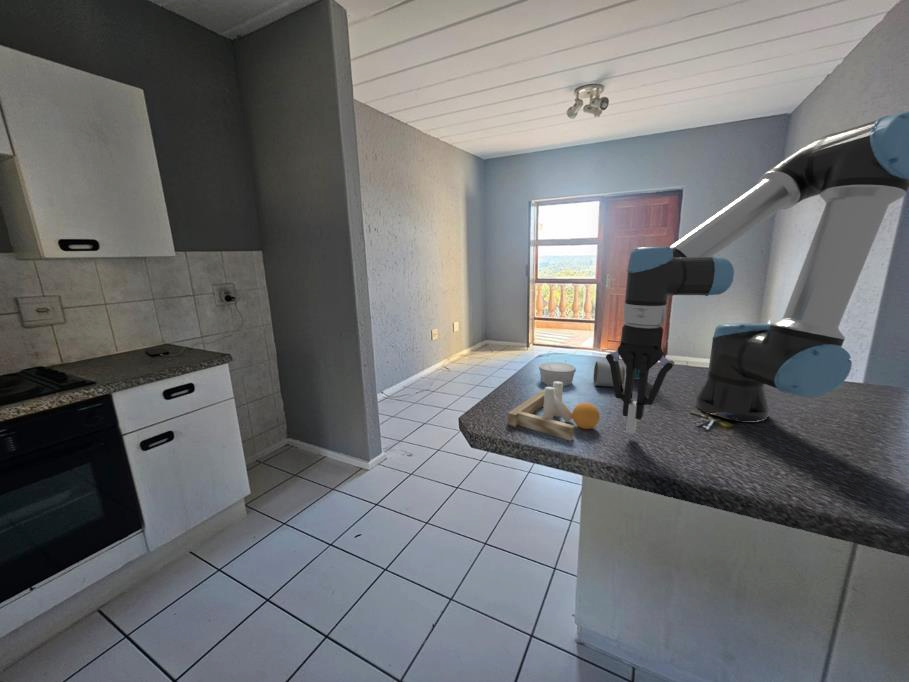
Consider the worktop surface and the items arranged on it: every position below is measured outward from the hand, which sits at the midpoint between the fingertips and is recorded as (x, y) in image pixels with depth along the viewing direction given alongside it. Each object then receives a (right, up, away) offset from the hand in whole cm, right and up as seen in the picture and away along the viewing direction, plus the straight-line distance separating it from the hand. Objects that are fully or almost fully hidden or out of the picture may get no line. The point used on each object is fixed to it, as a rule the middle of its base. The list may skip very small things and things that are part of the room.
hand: (630, 430), depth 80 cm
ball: (-8, +2, +5) cm, 10 cm away
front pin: (-11, +1, +8) cm, 13 cm away
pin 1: (-16, 0, +9) cm, 18 cm away
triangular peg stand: (-14, 0, +11) cm, 18 cm away
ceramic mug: (+9, +6, +36) cm, 37 cm away
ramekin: (-6, +6, +38) cm, 39 cm away
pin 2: (-13, +1, +13) cm, 18 cm away
